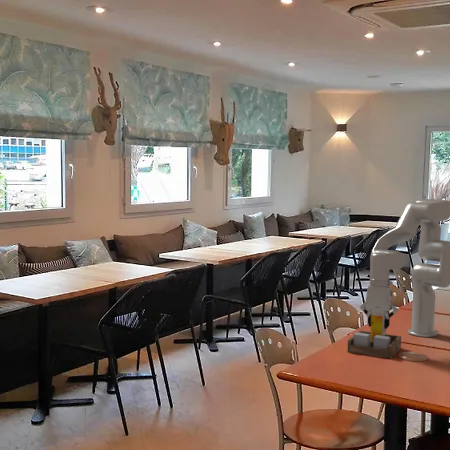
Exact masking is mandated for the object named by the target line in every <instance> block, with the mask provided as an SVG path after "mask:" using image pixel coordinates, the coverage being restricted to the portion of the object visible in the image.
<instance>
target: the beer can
mask: <svg viewBox="0 0 450 450" xmlns="http://www.w3.org/2000/svg"><path fill="white" fill-rule="evenodd" d="M385 319H386V316H385V312H384V311H383V310H382V309H381V308H378V307H374V308H373V309H372V310H371V327H370V331H369V332H370V340H371V341H372V342H374V337H375V336H376V335H380V336H386V334H387V329H385Z"/></svg>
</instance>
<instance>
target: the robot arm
mask: <svg viewBox="0 0 450 450" xmlns="http://www.w3.org/2000/svg"><path fill="white" fill-rule="evenodd" d="M448 219H450V201H449V200H448V199H432V198H421V199H417V200H415V201H411V202H409V203H407V204H406V205H405V207H404V208H403V210H402V213H401V215H400V217H399V219H398V220H397V223H396V225H395V226H394V227H393V228H392V229H391V230H389V231H387V232H386V233H385V234H383V235H382V236H380V237H379V238H378V239H377V241H376V242H375V245H373V246H374V247H373V248H372V249H371V253H370V257H369V260H370V262H369V263H370V264H369V265H370V269H369V285H368V286H367V290H366V297H365V301H364V302H363V303H362V304H361V305H360V306H359V309H361V311H363V313H364V314H365V315H366V317H367V325H368V327H369V328H371V310H372V309H373V308H374V307H378V308H381V309H382V310H383V311H384V312H385V316H386V319H385V329H386V330H387V329H388V328H389V327H390V320H391V319H390V318H391V317H393V316H394V315H396V314H397V312H399V309H398V308H397V307H396V306H395V304H393V301H394V300H393V290H392V286H393V284H394V283H393V282H394V281H391V280H390V270H396V271H397V270H400V269H402V268H403V267H404V266H405V264H406V259H407V258H406V256H405V254H404V253H403V252H401V251H397V250H390V249H389V248H391V247H392V246H394V245H395V246H396V245H397V244H401V243H405V242H407V241H409V240H412V239H413V238H414V237H415V235H416V232H417V230H418V228H419V226H420V235H419V242H418V251H417V253H418V257H419V258H420V259H421V260H424V261H430V262H435V263H436V262H437V263H439V264H433V263H428V262H427V263H426V262H419V263H416V264H415V265H414V266H413V267H412V268H411V280H412V308H411V309H412V310H411V315H412V316H411V328H408V329H407V333H408V334H410V335H412V336H415V337H416V336H417V337H421V338H431V337H436V336H438V331H437V330H435V316H436V315H435V313H436V292H435V289H434V288H433V287H437V288H449V286H450V241H448V240H444V239H443V240H442V239H441V233H442V227H441V224H440V222H442V221H443V222H444V221H447V220H448ZM391 310H392V311H391Z"/></svg>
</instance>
